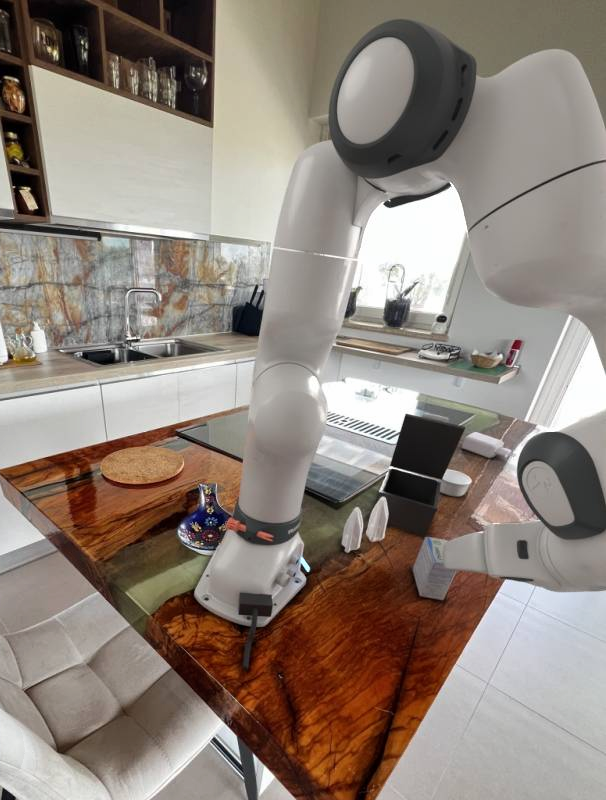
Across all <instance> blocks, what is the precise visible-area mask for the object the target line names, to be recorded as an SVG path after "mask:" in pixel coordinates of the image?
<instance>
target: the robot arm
mask: <svg viewBox="0 0 606 800" xmlns="http://www.w3.org/2000/svg"><path fill="white" fill-rule="evenodd" d="M327 115H328V117H327V118H328V119H327V120H328V130H329V135H330V139H328V140H323V141H318V142H317V143H314V144H313V145H309V146H308V147H307V148H305V149H304V150H303V152H301V154H299V156H298V157H297V159H296V161H295V162H294V165H293V167H292V170H291V172H290V173H291V174H290V176H289V179H288V183H287V186H286V190H285V193H284V196H283V200H282V204H281V208H280V212H279V215H278V220H277V225H276V229H275V235H274V239H273V240H274V241H273V248H272V253H271V259H270V266H269V271H268V278H267V279H268V280H267V284H266V285H267V286H266V292H265V297H264V304H263V311H262V317H261V322H260V329H259V335H258V341H257V347H256V352H255V358H254V365H253V371H252V376H251V382H250V393H249V394H250V395H249V404H248V405H249V406H248V416H247V424H246V426H247V427H246V434H245V442H244V448H243V449H244V452H243V459H242V464H241V465H242V466H241V476H240V483H239V493H238V498H237V499H236V502H235V505H234V506H233V507H234V508H233V511H232V515H231V517H229V518H228V519H227V521H226V525H225V529H226V531H225V533H224V535H223V538H222V540H221V542H220V544H218V545H217V547H216V549H215V551H214V552H213V555H212V556H211V558H210V560H209V561H208V564H207V566H206V568H205V569H204V571H203V572H202V573H203V574H202V576H201V577H200V579H199V581H198V583H197V584H196V586H195V589H194V592H193V596H194V598H195V599H196V601H197V602H198V603H199V604H200V605H201V606H202V607H203V608H205V609H206V610H207V611H209V612H211V613H213V614H214V615H216V616H218V617H221V618H222V619H225V620H227V621H229V622H232V623H235V624H238V625H242V626H246V627H250V629H249V632H248V636H247V638H246V641H245V646H244V651H243V661H242V670H244V671H247V670H249V665H250V664H249V663H250V654H251V647H252V643H253V641H254V640H253V639H254V637H255V635H256V631H257V630H256V629H257V628H262V627H266V625H268V624H269V623H270V622H271V621H272V620H273V619H274V618H275V617H276V615H278V614H279V613H280V611H281V610H283V608H284V607H286V605H287V604H288V603H289V602H290V601H291V600H292V599H293V598H294V597H295V596H296V595H297V594H298V593H299V592H300V591H301V590H302V588H304V587H305V585H306V584H307V577H306V576H305V574H304V573H303V572H302V571H301V566H303V567H304V569H305V571H306V572H308V573H309V572H310V570H311V567H310V566H309V564H308V563H307V562H306V560H305V559H304V557H303V553H304V547H305V544H304V541H303V540H302V537H301V535H300V533H299V530H300V527H301V523H302V519H303V508H302V504H303V499H304V494H305V489H306V485H307V480H308V475H309V472H310V469H311V466H312V463H313V461H314V459H315V456H316V454H317V451H318V448H319V445H320V442H321V441H322V439H323V437H324V434H325V431H326V427H327V423H328V414H329V406H328V401H327V398H326V395H325V393H324V390H323V387H322V382H323V381H322V380H323V375H324V371H325V368H326V366H327V363H328V359H329V357H330V354H331V351H332V348H333V347H334V343H335V341H336V339H337V336H338V334H339V333H340V331H341V329H342V327H343V324H344V319H345V316H346V312H347V307H348V304H349V300H350V295H351V291H352V289H353V284H354V280H355V276H356V272H357V268H358V264H359V260H360V255H361V251H362V247H363V244H364V240H365V236H366V232H367V229H368V226H369V223H370V221H371V219H372V217H373V215H374V213H375V212H376V211H377V210H378V208H379V207H381V206H382V205H383V206H384V207H385V208H387V209H393V208H397V207H401V206H403V205H406V204H407V205H408V204H410V203H413V202H417V201H419V202H420V201H422V200H427V199H430V198H432V197H435V196H438V195H441V194H442V193H445V192H446V191H448V190H450V189H451V188H453V189H454V191H455V193H456V195H457V197H458V200H459V204H460V207H461V211H462V215H463V221H464V226H465V230H466V235H467V241H468V245H469V250H470V256H471V259H472V263H473V267H474V269H475V273H476V274H477V277H478V279H479V281H480V282H481V284H482V286H483V287H484V289H485V291H487V292H488V293H489V294H491V295H492V296H494V297H495V298H497V299H499V300H501V301H502V302H505V303H507V304H510V305H514V306H518V307H522V308H529V309H531V308H533V309H545V310H551V311H556V312H560V313H564V314H567V315H569V316H572V317H573V318H575V319H577V320H579V322H581V323H582V324H583V325H584V326H585V327H586V328H587V330H588V331H589V332H590V335H591V336H592V339H593V342H594V345H595V348H596V350H597V354H598V356H599V360H600V362H601V365H602V369H603V371H604V374H605V375H606V126H605V121H604V119H603V116H602V113H601V109H600V107H599V103H598V100H597V98H596V95H595V93H594V91H593V88H592V85H591V83H590V80H589V78H588V76H587V74H586V72H585V70H584V67H583V66H582V63H581V62H580V60H579V58H578V57H577V56H575V54H573V53H571V52H570V51H568V50H565V49H561V48H560V49H559V48H551V49H543V50H541V51H537V52H534V53H531V54H529V55H526V56H524V57H522V58H520V59H519V60H517V61H515V62H514V63H511V64H510V65H508V66H507V67H506V68H504V69H503V70H501V71H500V72H498V73H496V74H494V75H492V76H489V77H481V76H479V75H477V60H476V58H475V56H474V55H473V54H471V53H470V52H469V51H467V50H466V49H464V48H462V47H461V46H460V45H458V44H457V43H456V42H454V41H452V40H451V39H450V38H449V37H447V36H446V34H444V33H442V31H440V30H438V29H436V28H435V27H432V26H430V25H429V24H426V23H424V22H422V21H418V20H414V19H409V18H396V19H395V18H394V19H391V20H387V21H384V22H382V23H380V24H377V25H376V26H375V27H373V28H371V29H370V30H369V31H368V32H367V33H365V34H364V35H363V36H362V37H361V38H360V39H359V40H358V41H357V42H356V44H355V45H354V46H353V47H352V49H351V50H350V51H349V52H348V54H347V56H346V57H345V59H344V61H343V63H342V64H341V66H340V68H339V71H338V72H337V75H336V77H335V80H334V83H333V86H332V89H331V94H330V98H329V104H328V113H327ZM516 479H517V483H518V487H519V490H520V493H521V494H522V497H523V499H524V501H525V503H526V504H527V506H528V507H529V509H530V510H531V511H532V514H534V515H535V516H536V518H537V520H532V521H514V522H496V523H495V522H494V523H489V524H487V525H485V526H484V531H477V532H472V533H467V534H464V535H461V536H458V537H456V538H453V539H451V540H448V542H446V543H445V544H444V545H443V562H444V566H445V568H446V569H448V570H452V571H456V572H467V573H478V574H487V575H488V576H489V577H490V578H494V579H499V580H508V581H515V582H519V583H525V584H528V585H531V586H533V587H538V588H541V589H545V590H546V591H550V592H553V593H589V592H591V593H593V592H594V593H595V592H604V591H605V592H606V408H604V409H602V410H600V411H596V412H594V413H592V414H589V415H587V416H584V417H580V418H576V419H573V420H570V421H568V422H565V423H562V424H560V425H557V426H554V427H553V428H550V429H547V430H545V431H543V432H539V433H537V434H535V435H533V436H531V438H529V439H528V440H527V442H526V443H525V444H524V446H523V447H522V449H521V451H520V453H519V456H518V459H517V465H516Z"/></svg>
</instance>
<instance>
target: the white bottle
mask: <svg viewBox="0 0 606 800" xmlns="http://www.w3.org/2000/svg"><path fill="white" fill-rule="evenodd" d="M504 444H505V443H504V441H503V440H502V439H498V438H495V437H492V436H490V435H487V434H483V433H481V432H477V431H474V432H472V433H470V434H468V435H466V436H465V438H464V440H463V443H462V446H461V449H463V450H465V451H469V452H471V453H474V454H476V455H479V456H482V457H485V458H487V459H490V458H494V457H495V456H500V457H502V458H507V457H508V456H510V457H513V458H515V457H517V454H515V453H513V452H512V450H511V449H510V448H506V447H504Z"/></svg>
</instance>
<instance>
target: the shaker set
mask: <svg viewBox="0 0 606 800" xmlns="http://www.w3.org/2000/svg"><path fill="white" fill-rule="evenodd" d="M374 506H375V507H374ZM374 506H373V509H372V511H371V512H370V515H369V519H368V524H367V529H366V530H365V535H366V536H367V538H368V539H369V541H370V542H371V543H374V542H381V541H383V539H385V536H386V529H387V526H388V525H387V520H388V515H389V514H388V506H387V501H386V498H385V497H381V498H380V499H379V501H378V502H377V504H376V505H375V504H374ZM363 530H364V520H363V515H362V511H361V509H360V507H358V506H356V507H354V509H353V510H352V511H351V513H350V515H349V516H348V518H347V520H346V522H345V523H344V527H343V532H342V533H343V534H342V539H341V546H343V547H344V550H343V551H344V552H345V553H350V552H351V551H356V550H357V551H358V549H360V547H361V542H362V536H363Z"/></svg>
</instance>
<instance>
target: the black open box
mask: <svg viewBox="0 0 606 800" xmlns="http://www.w3.org/2000/svg"><path fill="white" fill-rule="evenodd" d="M440 487H441V480H437V479H436V478H433V477H429V476H426V475H422V474H418V473H415V472H411V471H407V470H404V469H400V468H396V467H392V466H389V467H388V470H387V472H386V474H385V477H384V479H383V481H382V483H381V486H380V488H379V491H378V493H377V497H376V500H375V502H374V506H373V508H374V507H375V505H376V504H377V502H378V501H379V499H380V498H381V497H385V498H386V501H387V506H388V514H389V515H388V520H387V525H386V526H389V527H392V528H395V529H398V530H401V531H404V532H407V533H411V534H414V535H417V536H419V537H422V538H425V537H427V534H428V532H429V530H430V527H431V525H432V523H433V520H434V517H435V515H436V513H437V510H438V507H439V500H440V493H441V492H440Z"/></svg>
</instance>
